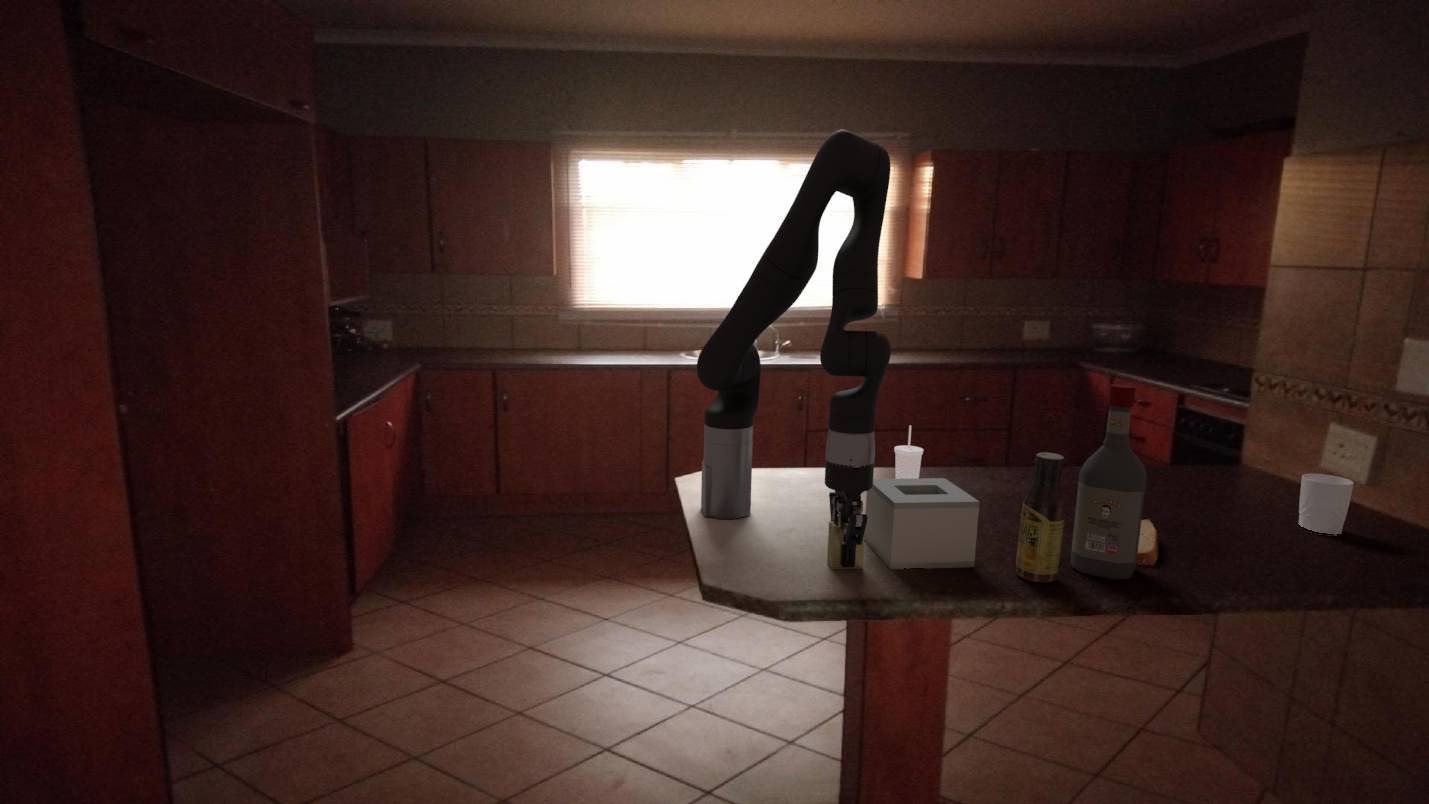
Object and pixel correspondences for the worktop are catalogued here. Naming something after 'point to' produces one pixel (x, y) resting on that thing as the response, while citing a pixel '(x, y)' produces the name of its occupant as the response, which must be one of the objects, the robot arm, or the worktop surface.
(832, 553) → the tall khaki box
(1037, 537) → the sauce bottle
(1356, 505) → the worktop surface
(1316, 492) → the white cup
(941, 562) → the grey box with opening
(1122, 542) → the liquor
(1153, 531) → the slice of bread
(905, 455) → the beverage cup
